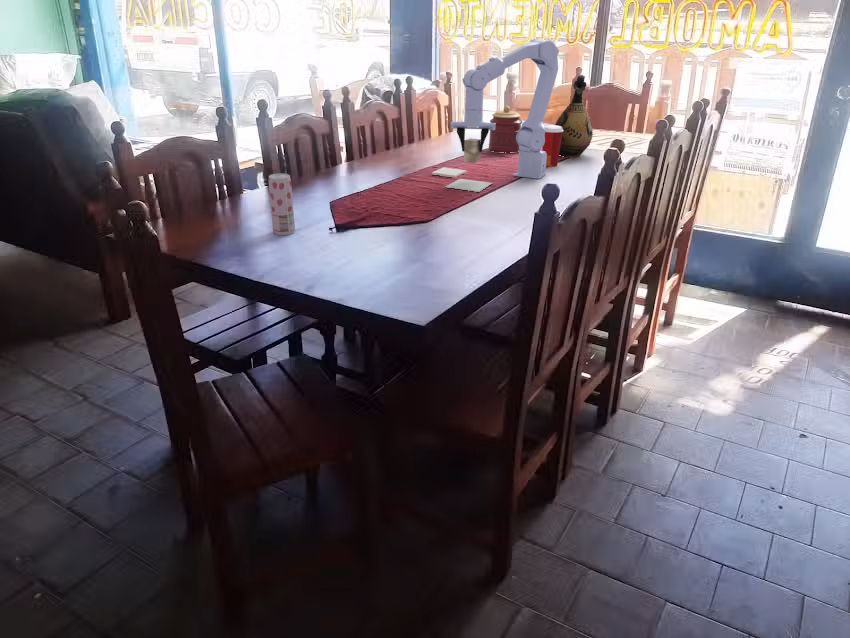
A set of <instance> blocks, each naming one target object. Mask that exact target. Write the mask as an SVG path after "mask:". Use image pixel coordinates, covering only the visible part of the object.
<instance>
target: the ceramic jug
mask: <svg viewBox="0 0 850 638" xmlns="http://www.w3.org/2000/svg"><path fill="white" fill-rule="evenodd" d="M585 78H586V76H585V75H582V74H580V75H578V76H577V78H576V80H574V82H573V89H574V93H573V97H572V99H571V101H570V103H569V104H568V105H567V106H566V107H565V109H564V110H563V111H562V112H561V114H560V115H559V117H558V118H557V120H556V121H555V123H554V125H556V126H561V127H562V129H563V132H562V138H561V144H560V151H559V155H561V156H564V157H568V158H567V159H570V158H571V159H577V158H580V157H581V156H582V154H583V153H584V152H585V151H586V149H588V148H589V147H590V145H591V143H592V140H593V133H594V132H593V125H592V120H591V117H590V115H589V112H588V110H587V108H586V106H585V104H584V102H583V94H584V93H583V92H584V91H586V87H587V83H586V81H585ZM561 156H560V157H561ZM564 157H563V158H564Z"/></svg>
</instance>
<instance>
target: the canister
mask: <svg viewBox="0 0 850 638" xmlns="http://www.w3.org/2000/svg"><path fill="white" fill-rule="evenodd" d="M491 115H492V118H491V119H490V120H489V123H496V124H495V130H489V142H488V150H490V151H489V152H491V151H494V152H504V153H505V152H506V153H510V152H517V153H519V152H518V151H519V144H518V143H517V141H516V135H517V133H518V131H519V130H520V129H521V126H522V123H523V120H521V118H520V117H521V116H522V115H521V114H520V113H518V111H515V110H511V107H510V106H509V105H505V106H504V107H503V109H502V110H497V111H495V112H494V113H493V114H491ZM494 152H493V153H494Z"/></svg>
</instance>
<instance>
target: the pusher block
mask: <svg viewBox="0 0 850 638" xmlns="http://www.w3.org/2000/svg"><path fill="white" fill-rule="evenodd" d="M480 144H481V138H471V137H469V138H467V139H466V138H465V140H464V152H463V162H465V163H473V164H475V163H478V162H480V161H481V152H480Z"/></svg>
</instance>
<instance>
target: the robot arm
mask: <svg viewBox="0 0 850 638" xmlns="http://www.w3.org/2000/svg"><path fill="white" fill-rule="evenodd" d="M559 52H560V50H559V47H558V46H557V45H556V43H555V41H554V40H551V39H550V40H549V39H548V40H544V39H538V38H533V39H530V41H526V42H524V43H523V44H522V45H520V46H518V48H515V49H514V50H513V51H510V53H508V54H506V55H505V56H503V57H502V58H499V57H493V56H492V57H489V58H488V61H486V62H485V63H483V64H478V65H476V68H475V69H468V70H467V71H466V72H465V74H464V76H463V78H462V84H463V85H464V87H465V95H464V96H465V98H464V99H465V100H464V101H465V102H464V103H465V104H464V121H451V122H450V129H452V130H453V129H456V133H457V135H458V138H459V141H460V146H461V151H462V152H463V153H464V140H466V137H465V136H466V130H480V139H481V143H480V153H482V152H483V147H484V144H485V142H486V138H487V137H488V134H489V133H490V130H495V124H496V123H491V122H485V121H483V108H484V107H483V106H484V89H485V88H486V86H487V85H488V84H489V83H490V82H492V81H494V80H496V79H497V78H499V77H501V76H503V75H504V74H505V72H506V69H507V68H510V67H511V66H513V65H515V64H517V63H519V62H521V61H523V60H525V59H530V60H531V61H532V62H534V63H535V64H536V67H538V70H539V76H538V80H537V83H536V87H535V90H534V94H533V97H532V101H531V103H530V104H531V105H530V108H529V112H528V115H527V119H526V120H524V121H522V123H521V129H520V130H519V131H518V133H517V135H516V141H517V143H518V144H519V152H518V160H517V171H516V172H515V173H513V176H514V177H520V178H521V177H522V178H527V179H528V178H529V179H537V180H538V179H541V178H542V177H544V176H546V174H547V173H546V171H547V166H546V161H547V154H546V152H545V151H542V147H543V145H544V143H545V131H546V130H545V127H544V126H545V125H544V120H545V116H546V113H547V110H548V106H549V103H550V100H551V96H552V93H553V90H554V89H553V88H554V86H555V81H556V78H557V75H558V70H559V59H558V56H559Z"/></svg>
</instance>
